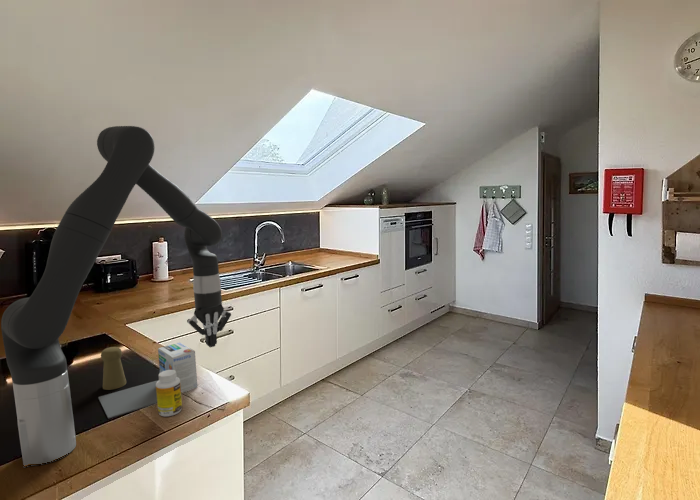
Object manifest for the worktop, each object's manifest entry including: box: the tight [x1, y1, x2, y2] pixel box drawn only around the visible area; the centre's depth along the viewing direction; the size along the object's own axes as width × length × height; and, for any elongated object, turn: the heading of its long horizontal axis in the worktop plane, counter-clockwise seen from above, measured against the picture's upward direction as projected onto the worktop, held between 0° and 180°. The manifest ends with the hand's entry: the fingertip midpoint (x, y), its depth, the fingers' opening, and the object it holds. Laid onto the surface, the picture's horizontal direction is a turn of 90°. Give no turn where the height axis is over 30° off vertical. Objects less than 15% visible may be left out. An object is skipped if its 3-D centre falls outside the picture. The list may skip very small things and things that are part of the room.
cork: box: [100, 346, 127, 391], centre depth 119 cm, size 6×6×11 cm
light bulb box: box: [157, 342, 198, 394], centre depth 118 cm, size 11×7×11 cm, turn 45°
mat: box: [97, 380, 158, 419], centre depth 112 cm, size 15×14×1 cm
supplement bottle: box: [156, 370, 183, 418], centre depth 104 cm, size 6×6×10 cm
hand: (211, 346), depth 124 cm, fingers closed
